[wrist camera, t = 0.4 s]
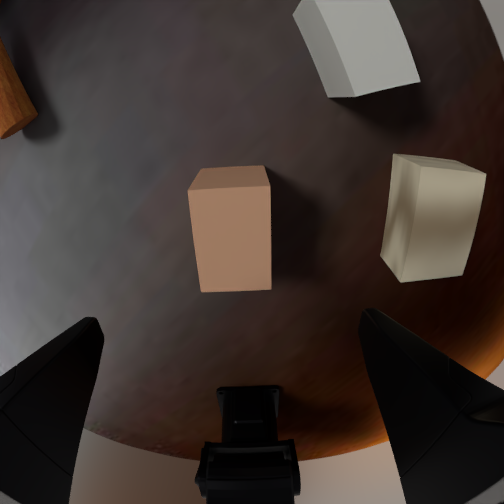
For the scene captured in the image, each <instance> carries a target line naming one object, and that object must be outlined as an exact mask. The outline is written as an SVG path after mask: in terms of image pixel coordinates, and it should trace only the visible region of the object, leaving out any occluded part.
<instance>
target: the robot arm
mask: <svg viewBox="0 0 504 504" xmlns="http://www.w3.org/2000/svg"><path fill="white" fill-rule="evenodd" d="M358 333H359V338H360V342H361V346H362V351H363V355H364V360H365V364H366V368H367V372H368V376H369V379H370V382H371V384H372V387H373V390H374V393H375V396H376V399H377V402H378V405H379V409H380V412H381V415H382V418H383V421H384V424H385V428H386V431H387V434H388V437H389V441H390V444H391V447H392V451H393V454H394V458H395V462H396V465H397V468H398V472H399V476H400V477H401V478H400V481H401V484H402V488H403V492H404V496H405V500H406V504H504V390H503V389H501V388H499V387H497V386H495V385H494V384H492V383H490V382H488V381H487V380H485V379H483V378H481V377H479V376H478V375H476V374H474V373H473V372H471V371H469V370H468V369H466V368H465V367H463V366H462V365H460V364H458V363H457V362H456V361H454V360H453V359H451V358H449V357H448V356H447V355H445V354H444V353H442V352H441V351H439V350H438V349H436V348H435V347H433V346H432V345H430V344H429V343H427V342H426V341H424V340H423V339H421V338H420V337H418V336H417V335H415V334H414V333H412V332H411V331H409V330H408V329H406V328H405V327H403V326H402V325H400V324H399V323H397V322H396V321H394V320H393V319H391V318H390V317H388V316H387V315H385V314H384V313H382V312H381V311H379V310H378V309H376V308H367V309H364V310H363V311H362V315H361V319H360V324H359V328H358ZM103 345H104V334H103V332H102V330H101V327H100V325H99V322H98V320H97V319H96V318H95V317H85V318H83V319H82V320H80V321H79V322H77V323H76V324H74V325H73V326H71V327H70V328H68V329H67V330H66V331H64V332H63V333H61V334H60V335H58V336H57V337H55V338H54V339H53V340H51V341H50V342H48V343H47V344H45V345H44V346H42V347H41V348H40V349H38V350H37V351H35V352H34V353H33V354H31V355H30V356H28V357H27V358H26V359H24V360H23V361H21V362H20V363H19V364H17V366H14V367H13V368H12V369H10V370H9V371H7V372H6V373H5V374H3V375H2V376H0V504H69V497H70V491H71V485H72V479H73V477H72V476H73V473H74V467H75V462H76V457H77V453H78V448H79V443H80V439H81V434H82V430H83V426H84V422H85V418H86V414H87V411H88V407H89V403H90V400H91V396H92V392H93V389H94V386H95V382H96V378H97V374H98V369H99V364H100V359H101V354H102V349H103ZM217 398H218V402H219V406H220V411H221V415H222V443H211V442H205V445H204V448H201V460H200V465H199V468H198V471H197V474H196V477H195V483H196V484H197V485H198V486H199V489H200V492H201V496H202V497H203V498H206V501H207V502H206V503H207V504H294V496H297V495H300V489H301V483H300V471H299V465H298V460H297V455H296V450H295V444H294V439H288V440H283V441H278V433H277V423H276V418H277V417H278V404H279V387H278V386H262V387H234V388H218V389H217Z"/></svg>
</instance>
